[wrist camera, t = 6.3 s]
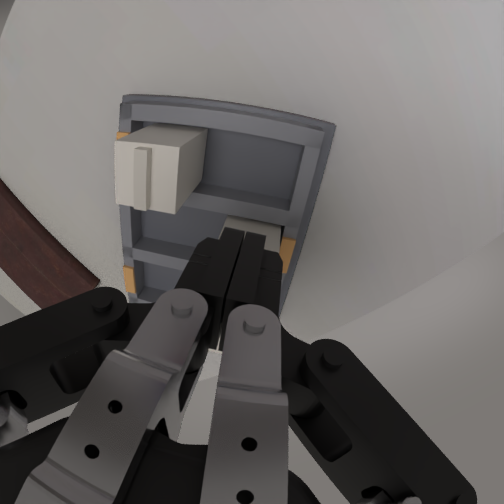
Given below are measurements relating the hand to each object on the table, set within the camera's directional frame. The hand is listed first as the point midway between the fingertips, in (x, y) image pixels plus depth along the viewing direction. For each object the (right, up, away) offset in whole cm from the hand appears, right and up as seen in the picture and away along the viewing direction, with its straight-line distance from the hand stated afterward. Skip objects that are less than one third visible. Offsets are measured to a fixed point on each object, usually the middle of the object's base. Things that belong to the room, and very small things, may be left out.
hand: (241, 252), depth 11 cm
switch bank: (-3, +3, +14) cm, 15 cm away
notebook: (-29, -1, +21) cm, 36 cm away
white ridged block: (-5, +7, +10) cm, 13 cm away
